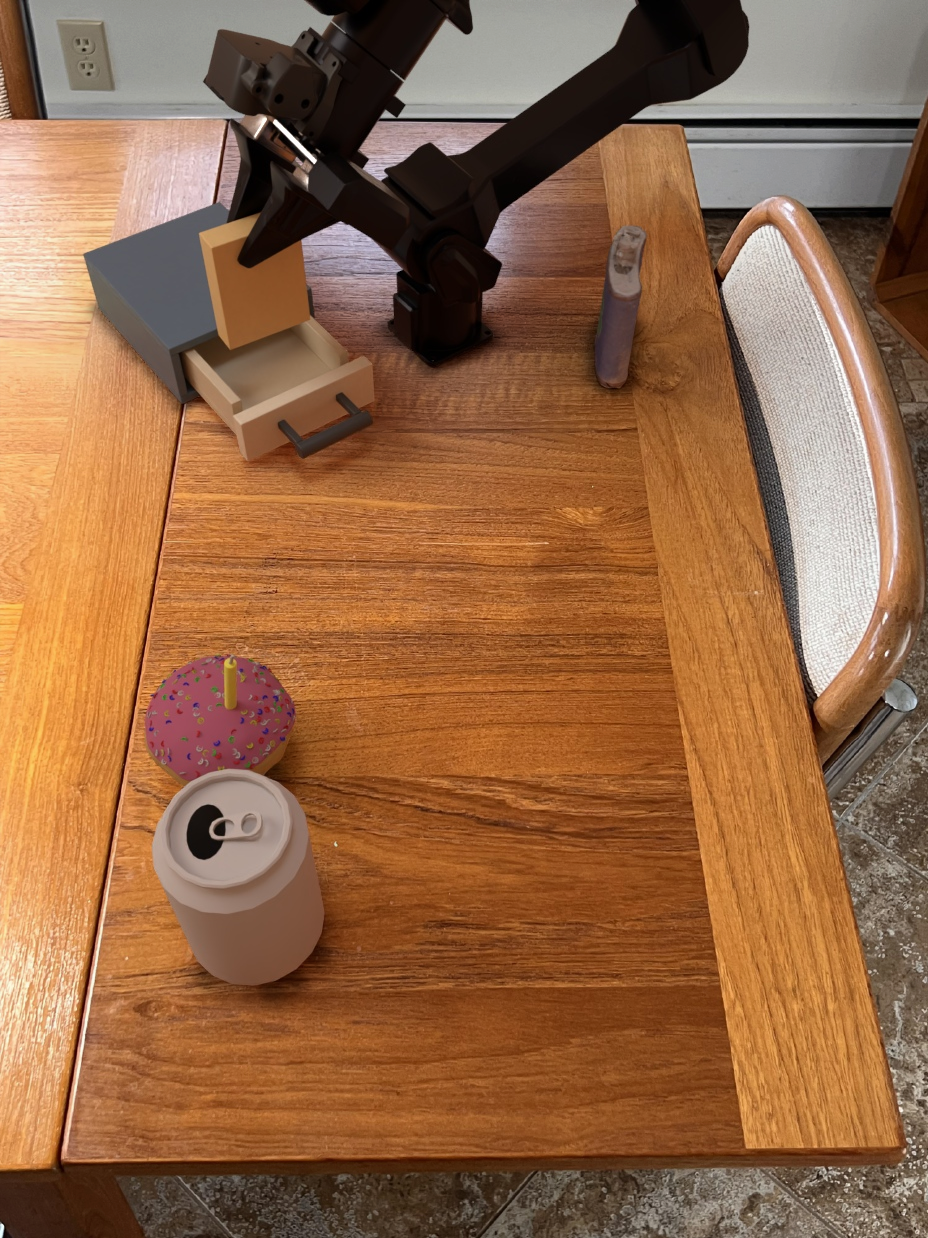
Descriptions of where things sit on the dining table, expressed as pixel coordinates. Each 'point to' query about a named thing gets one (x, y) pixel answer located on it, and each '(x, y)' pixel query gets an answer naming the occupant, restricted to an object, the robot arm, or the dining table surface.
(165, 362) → the cabinet
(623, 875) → the dining table surface
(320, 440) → the drawer
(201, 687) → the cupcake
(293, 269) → the block
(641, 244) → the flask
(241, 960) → the can
